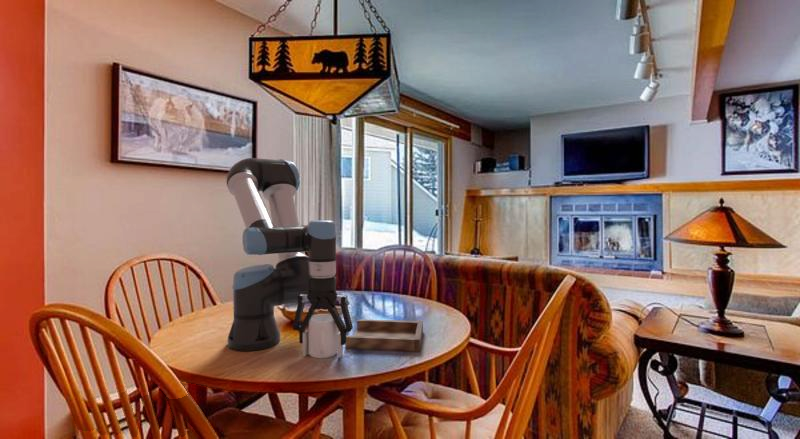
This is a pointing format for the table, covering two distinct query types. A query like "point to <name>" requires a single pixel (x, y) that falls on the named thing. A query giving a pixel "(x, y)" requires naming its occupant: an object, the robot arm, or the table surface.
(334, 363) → the table surface
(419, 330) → the tray
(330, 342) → the mug
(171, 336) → the table surface
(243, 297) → the robot arm
